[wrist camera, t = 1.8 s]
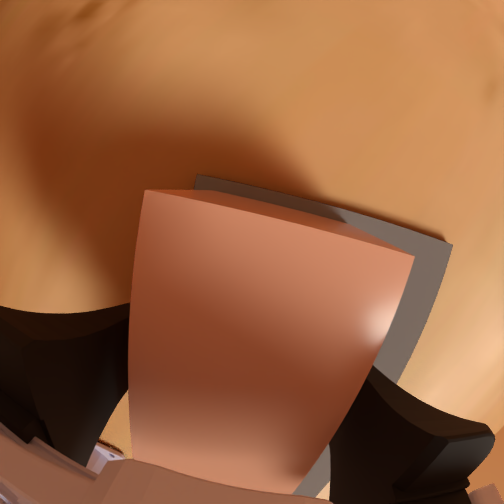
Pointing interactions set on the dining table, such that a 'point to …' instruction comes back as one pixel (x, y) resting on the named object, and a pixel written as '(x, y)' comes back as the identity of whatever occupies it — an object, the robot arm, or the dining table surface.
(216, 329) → the terracotta cover
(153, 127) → the dining table surface
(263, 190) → the charcoal mat
